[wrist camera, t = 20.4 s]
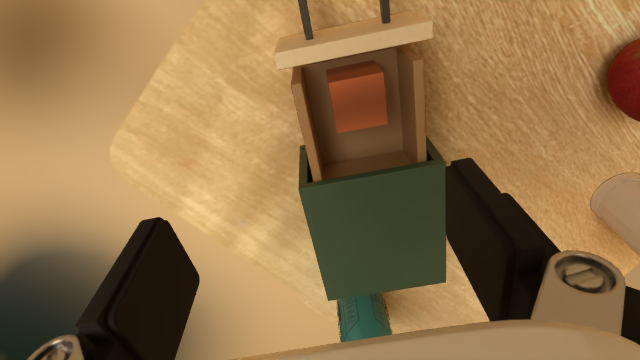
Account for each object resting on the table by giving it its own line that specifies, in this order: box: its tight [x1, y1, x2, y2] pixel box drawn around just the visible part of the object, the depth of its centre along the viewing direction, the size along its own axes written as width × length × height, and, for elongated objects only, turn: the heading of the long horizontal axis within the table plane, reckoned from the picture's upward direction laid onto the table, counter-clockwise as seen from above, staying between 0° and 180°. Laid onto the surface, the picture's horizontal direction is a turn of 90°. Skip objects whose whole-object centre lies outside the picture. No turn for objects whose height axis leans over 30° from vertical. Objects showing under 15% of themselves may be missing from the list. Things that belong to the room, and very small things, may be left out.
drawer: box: [274, 0, 434, 182], centre depth 29 cm, size 20×11×7 cm, turn 11°
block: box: [326, 60, 388, 133], centre depth 30 cm, size 4×4×4 cm
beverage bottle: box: [336, 293, 393, 342], centre depth 40 cm, size 6×7×20 cm
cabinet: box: [299, 136, 446, 301], centre depth 36 cm, size 15×13×9 cm
